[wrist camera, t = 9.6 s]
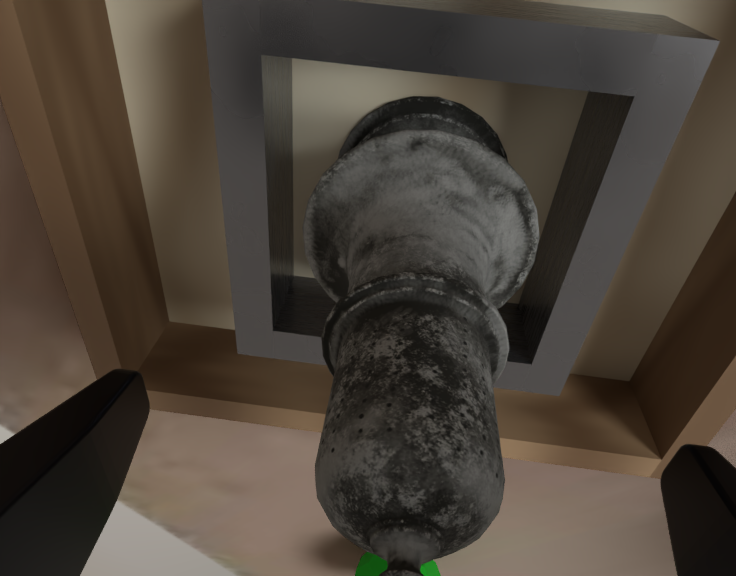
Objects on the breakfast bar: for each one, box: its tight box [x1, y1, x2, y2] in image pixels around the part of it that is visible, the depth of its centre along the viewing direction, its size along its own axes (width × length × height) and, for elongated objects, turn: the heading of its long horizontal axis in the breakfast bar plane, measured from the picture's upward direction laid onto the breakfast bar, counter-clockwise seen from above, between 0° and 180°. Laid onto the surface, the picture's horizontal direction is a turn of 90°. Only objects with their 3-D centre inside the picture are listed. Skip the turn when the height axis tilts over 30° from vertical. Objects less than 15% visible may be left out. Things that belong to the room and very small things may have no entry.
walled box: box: [0, 0, 736, 479], centre depth 15 cm, size 20×16×4 cm
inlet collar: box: [202, 0, 720, 396], centre depth 15 cm, size 10×10×3 cm
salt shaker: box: [302, 96, 540, 576], centre depth 11 cm, size 6×6×12 cm
